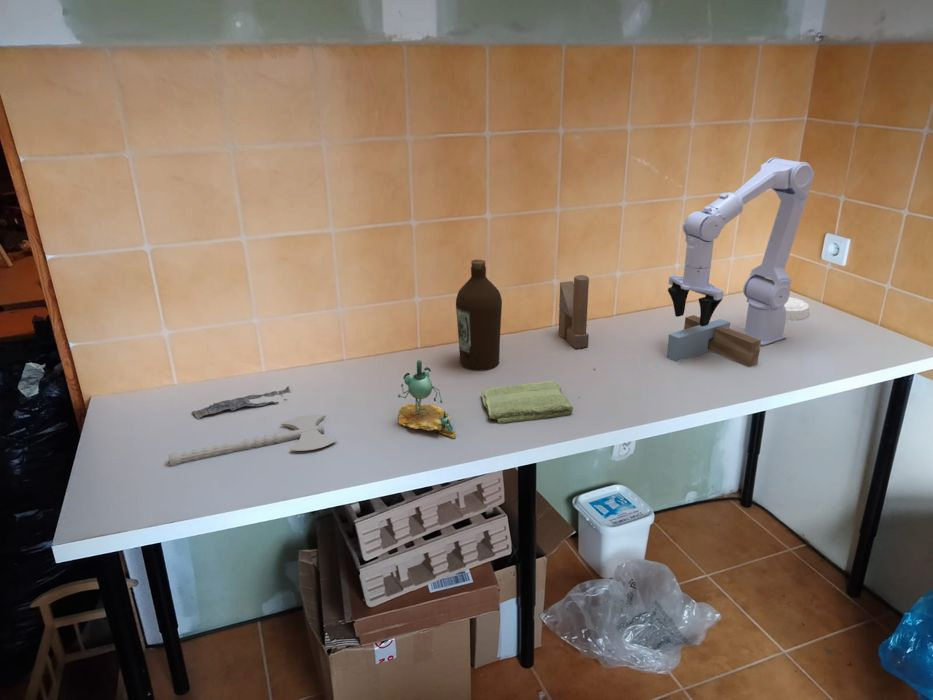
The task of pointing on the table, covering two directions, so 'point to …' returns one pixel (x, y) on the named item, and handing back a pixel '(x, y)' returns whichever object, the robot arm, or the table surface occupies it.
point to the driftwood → (237, 403)
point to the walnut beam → (730, 343)
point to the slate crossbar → (692, 340)
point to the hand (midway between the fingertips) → (691, 320)
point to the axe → (268, 440)
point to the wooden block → (574, 311)
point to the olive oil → (479, 320)
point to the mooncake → (796, 309)
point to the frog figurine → (423, 414)
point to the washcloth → (526, 402)
